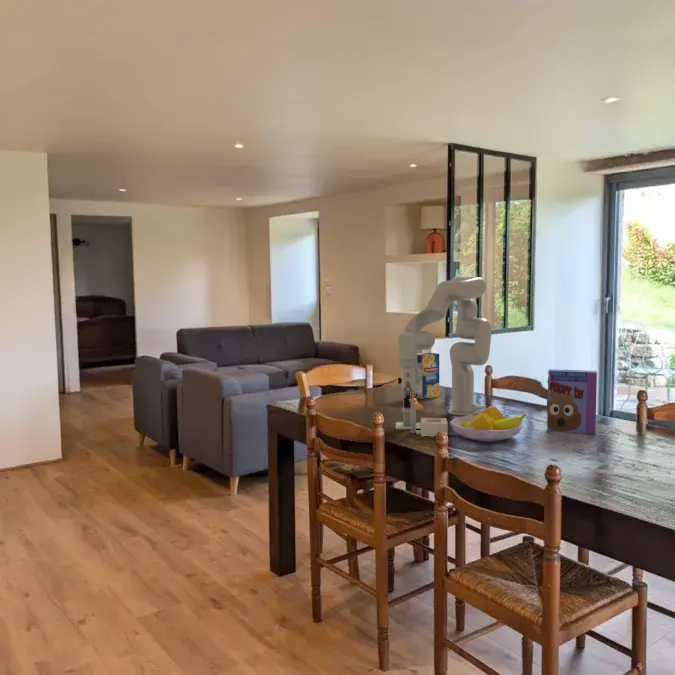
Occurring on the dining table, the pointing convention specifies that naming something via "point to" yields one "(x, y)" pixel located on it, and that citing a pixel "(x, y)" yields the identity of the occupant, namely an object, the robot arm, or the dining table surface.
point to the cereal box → (572, 401)
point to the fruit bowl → (488, 425)
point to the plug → (406, 415)
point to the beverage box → (427, 376)
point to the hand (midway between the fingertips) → (408, 405)
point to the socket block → (428, 424)
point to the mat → (400, 426)
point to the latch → (416, 403)
